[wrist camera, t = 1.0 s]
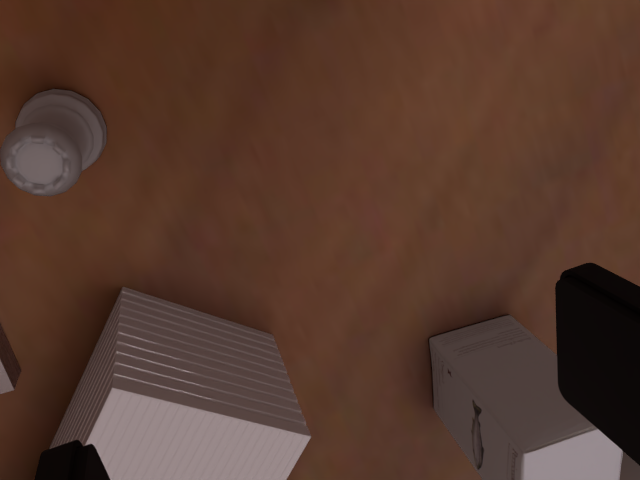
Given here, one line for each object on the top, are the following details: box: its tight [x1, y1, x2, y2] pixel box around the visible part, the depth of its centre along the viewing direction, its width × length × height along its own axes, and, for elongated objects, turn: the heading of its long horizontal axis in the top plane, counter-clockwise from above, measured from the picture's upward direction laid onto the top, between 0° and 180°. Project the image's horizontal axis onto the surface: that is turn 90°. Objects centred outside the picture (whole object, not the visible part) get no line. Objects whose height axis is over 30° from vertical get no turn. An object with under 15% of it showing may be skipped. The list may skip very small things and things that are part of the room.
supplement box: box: [429, 315, 623, 480], centre depth 39 cm, size 7×7×13 cm
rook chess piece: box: [0, 89, 107, 196], centre depth 27 cm, size 4×4×8 cm
